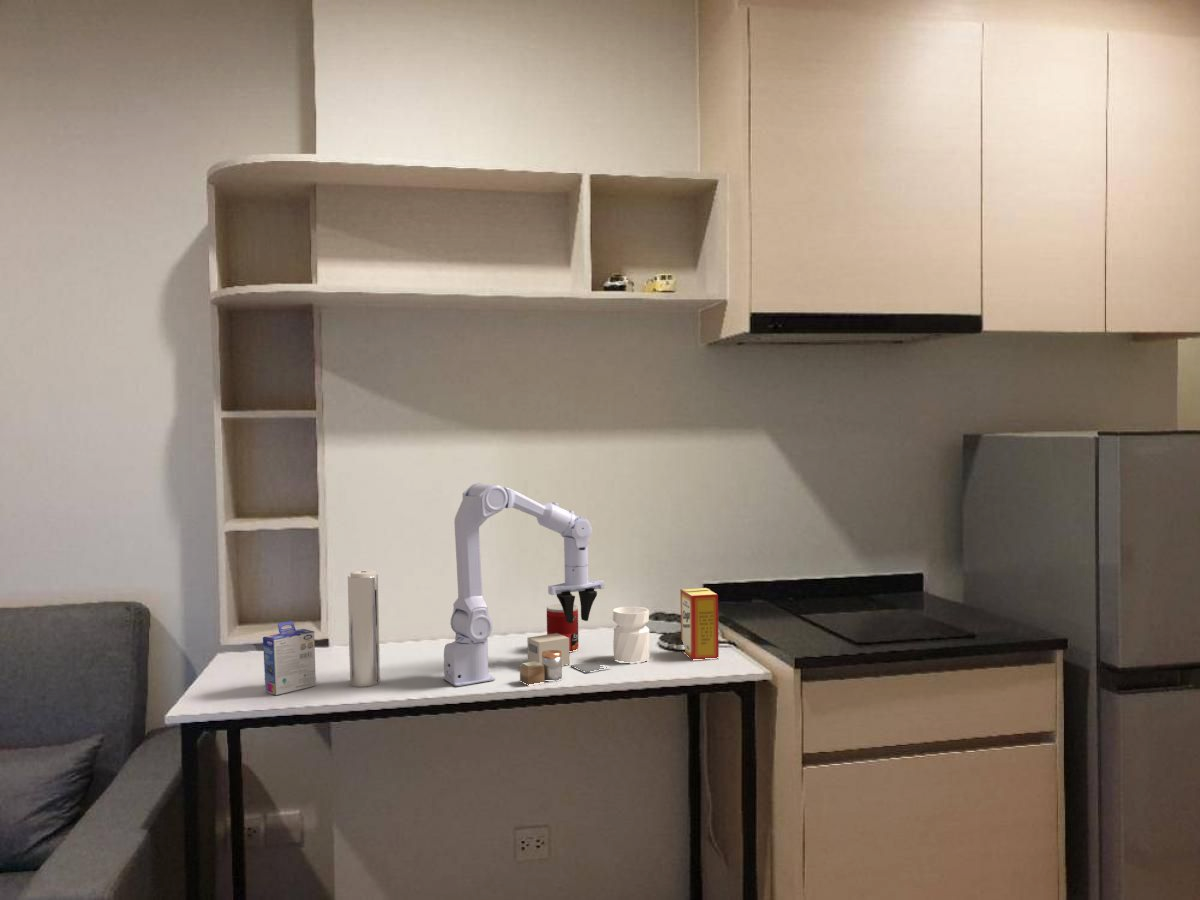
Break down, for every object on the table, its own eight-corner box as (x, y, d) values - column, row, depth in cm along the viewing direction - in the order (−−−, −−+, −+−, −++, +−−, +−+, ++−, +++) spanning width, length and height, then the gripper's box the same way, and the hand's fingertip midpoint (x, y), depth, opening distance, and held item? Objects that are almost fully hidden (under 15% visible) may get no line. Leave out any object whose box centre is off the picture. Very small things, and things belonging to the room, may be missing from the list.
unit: (538, 670, 207) (538, 642, 207) (527, 664, 212) (526, 637, 212) (570, 665, 211) (570, 637, 211) (558, 659, 216) (558, 633, 216)
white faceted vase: (631, 666, 209) (630, 615, 209) (606, 659, 216) (605, 610, 216) (657, 659, 215) (656, 610, 215) (632, 653, 222) (631, 605, 221)
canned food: (578, 653, 222) (577, 609, 222) (546, 653, 222) (545, 610, 222) (578, 646, 230) (578, 603, 230) (547, 646, 230) (547, 604, 230)
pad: (586, 673, 203) (585, 671, 203) (570, 666, 209) (570, 665, 209) (611, 668, 207) (611, 667, 207) (596, 662, 213) (596, 660, 213)
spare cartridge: (548, 683, 196) (547, 655, 196) (538, 678, 200) (538, 651, 200) (565, 679, 199) (565, 653, 199) (556, 675, 202) (555, 649, 202)
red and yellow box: (718, 659, 215) (717, 592, 214) (692, 660, 213) (691, 594, 213) (706, 649, 224) (705, 586, 224) (681, 651, 223) (680, 587, 222)
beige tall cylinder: (368, 677, 203) (366, 568, 203) (386, 682, 199) (383, 570, 199) (344, 683, 198) (341, 571, 198) (361, 688, 194) (359, 574, 194)
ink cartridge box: (304, 681, 201) (303, 617, 200) (317, 686, 197) (316, 620, 197) (262, 691, 193) (261, 625, 193) (275, 696, 190) (274, 628, 189)
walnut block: (528, 686, 194) (527, 666, 194) (520, 682, 198) (519, 663, 197) (544, 683, 196) (544, 664, 196) (536, 679, 200) (535, 660, 200)
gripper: (593, 560, 222) (594, 614, 223) (541, 566, 215) (542, 622, 215) (608, 564, 216) (609, 619, 217) (556, 569, 209) (556, 627, 209)
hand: (577, 621), depth 215 cm, fingers open, 4 cm apart
